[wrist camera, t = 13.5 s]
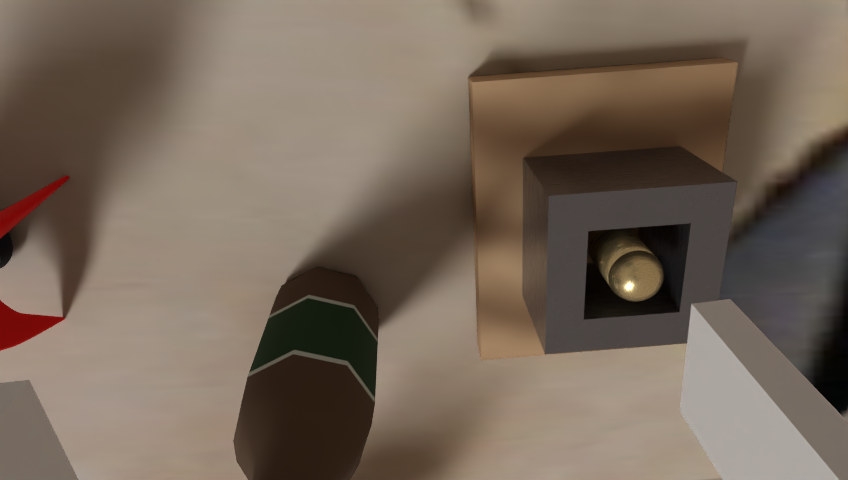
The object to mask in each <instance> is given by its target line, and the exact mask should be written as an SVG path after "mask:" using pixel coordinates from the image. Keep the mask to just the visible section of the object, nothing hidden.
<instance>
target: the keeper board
mask: <svg viewBox="0 0 848 480" xmlns="http://www.w3.org/2000/svg"><path fill="white" fill-rule="evenodd" d="M737 66H738V62H735V61H731V60H728V59H724V58H711V59H698V60H685V61H672V62H658V63H645V64H632V65H618V66H605V67H592V68H578V69H565V70H552V71H538V72H525V73H512V74H498V75H485V76H472V77H468V80H469V108H470V137H471V165H472V194H473V222H474V251H475V279H476V308H477V337H478V348H479V352H480V357H481V360H488V359H501V358H513V357H525V356H537V355H550V354H545V353H544V350H543V348H542V345H541V343H540V340H539V337H538V335H537V332H536V330H535V327H534V325H533V322H532V319H531V317H530V314H529V312H528V309H527V307H526V304H525V302H524V299H523V296H522V259H523V158H525V157H538V156H551V155H565V154H578V153H592V152H605V151H619V150H632V149H646V148H659V147H673V146H681V147H683V148H684V149H686V150H688V151H689V152H691V153H692V154H694V155H696V156H697V157H699V158H700V159H702V160H704V161H705V162H707V163H708V164H710V165H711V166H713V167H715V168H716V169H718V170H719V171H721V172H722V171H723V164H724V157H725V150H726V143H727V136H728V129H729V122H730V115H731V108H732V101H733V94H734V87H735V80H736V73H737ZM631 230H632V231H633V232H634V233H635V234H636V235H637V236H638V230H639V227H636V228H631ZM592 262H593V261H592V259H591V258H590V256H589V255H588V253H587V263H592ZM682 344H684V343H682ZM669 345H672V344H669ZM657 346H660V345H657ZM644 347H647V346H644ZM631 348H635V347H631ZM619 349H623V348H619ZM606 350H611V349H606ZM594 351H599V350H594ZM581 352H586V351H581ZM568 353H574V352H568ZM556 354H562V353H556Z"/></svg>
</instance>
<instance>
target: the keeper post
mask: <svg viewBox="0 0 848 480" xmlns="http://www.w3.org/2000/svg"><path fill="white" fill-rule="evenodd" d="M587 253H588V255H589V256H590V258H591V259H592V261H593V262H594V264H595V265H596V267H597V268H598V270H599V271H600V273H601V274H602V276H603V277H604V278H605V280H606V281H607V283H608V284H609V286H610V287H611V289H612V290H613V291H614V293H616V294H617V295H618V296H619V297H621V298H623V299H625V300H628V301H643V300H646V299H649V298H651V297H652V296H653V295H655V294H656V293H657V292H658V290H659V289H660V287H661V285H662V282H663V277H664V274H663V268H662V265H661V263H660V261H659V260H658V258H657V257H656V256H655V255H654V254H653V253H652V252H651V251H650V250H649V248H648V247H647V246H646V245H645V244H644V243H643V242H642V241H641V240H640V238H639V237H638V236H637V235H636V234H635V233H634V232H633V231H632V230H631V228H622V229H609V230H596V231H588V247H587Z"/></svg>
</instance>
